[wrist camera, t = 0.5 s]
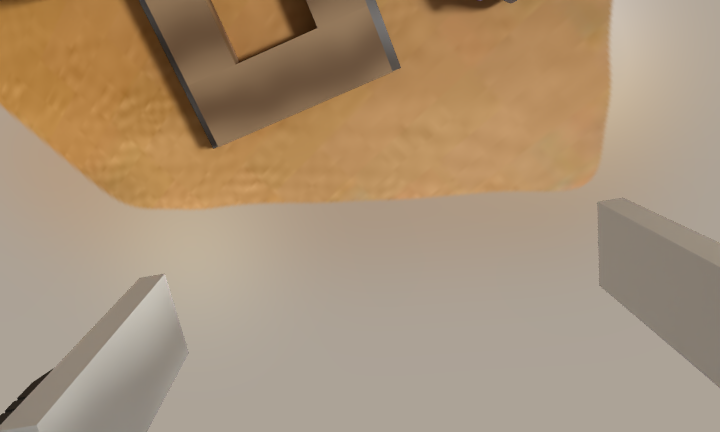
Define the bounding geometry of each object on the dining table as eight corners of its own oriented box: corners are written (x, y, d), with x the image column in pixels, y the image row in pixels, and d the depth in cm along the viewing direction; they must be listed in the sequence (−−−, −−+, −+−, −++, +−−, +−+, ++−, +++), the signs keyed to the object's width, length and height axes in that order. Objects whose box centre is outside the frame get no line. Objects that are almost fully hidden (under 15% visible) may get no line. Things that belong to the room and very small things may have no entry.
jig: (109, -63, 35) (96, -71, 33) (313, -161, 34) (311, -175, 32) (215, 147, 39) (208, 151, 37) (399, 67, 38) (402, 67, 36)
